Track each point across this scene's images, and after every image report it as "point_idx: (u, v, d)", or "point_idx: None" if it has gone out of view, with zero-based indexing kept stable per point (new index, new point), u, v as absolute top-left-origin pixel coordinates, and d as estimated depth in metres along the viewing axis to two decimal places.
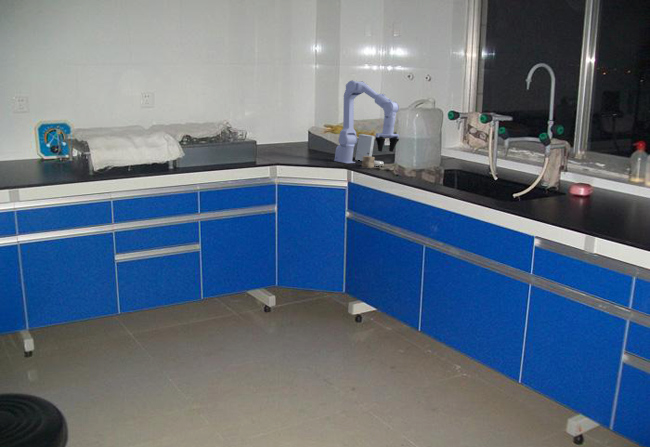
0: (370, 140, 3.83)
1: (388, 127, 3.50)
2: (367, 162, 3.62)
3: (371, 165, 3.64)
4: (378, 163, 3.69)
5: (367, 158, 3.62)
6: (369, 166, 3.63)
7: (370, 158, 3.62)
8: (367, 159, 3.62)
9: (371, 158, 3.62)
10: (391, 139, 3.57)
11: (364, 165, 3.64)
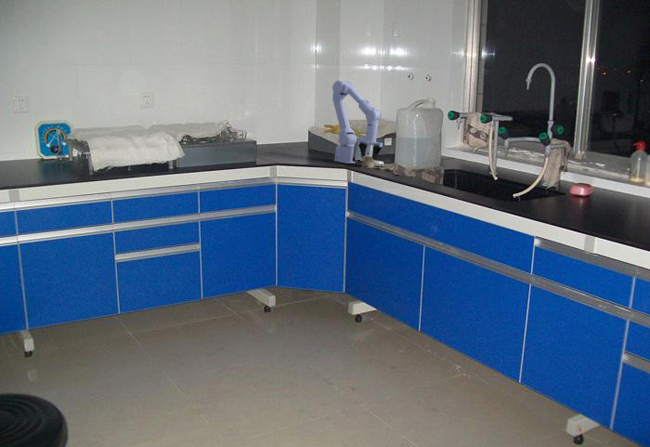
0: None
1: (366, 134, 3.61)
2: (367, 162, 3.62)
3: (371, 165, 3.64)
4: (378, 163, 3.69)
5: (367, 158, 3.62)
6: (369, 166, 3.63)
7: (370, 158, 3.62)
8: (367, 159, 3.62)
9: (371, 158, 3.62)
10: None
11: (364, 165, 3.64)
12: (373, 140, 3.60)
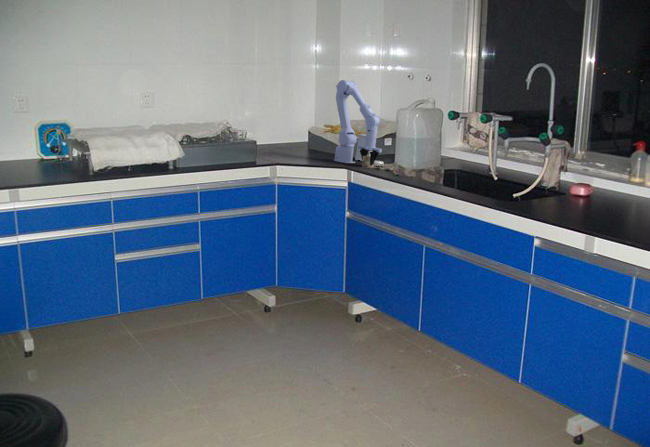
0: None
1: (365, 139, 3.62)
2: (367, 162, 3.62)
3: (371, 165, 3.64)
4: (378, 163, 3.69)
5: (367, 158, 3.62)
6: (369, 166, 3.63)
7: None
8: (367, 159, 3.62)
9: None
10: None
11: (364, 165, 3.64)
12: (372, 146, 3.60)
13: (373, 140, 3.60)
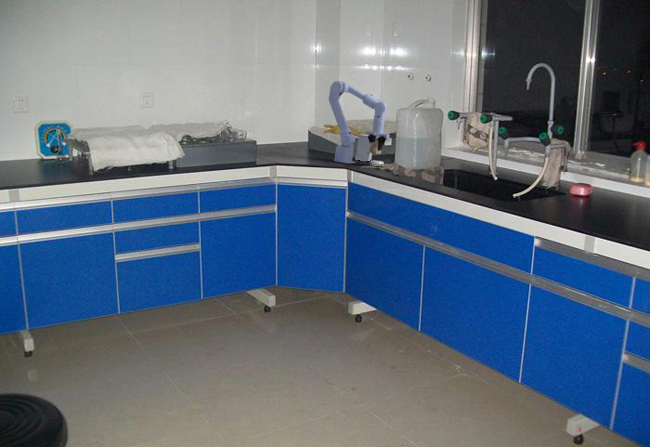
0: None
1: (373, 125, 3.65)
2: (374, 148, 3.65)
3: (378, 151, 3.67)
4: (378, 163, 3.69)
5: (374, 144, 3.65)
6: (376, 152, 3.66)
7: (377, 144, 3.65)
8: (374, 145, 3.65)
9: None
10: None
11: (371, 151, 3.67)
12: (380, 131, 3.63)
13: (381, 126, 3.63)
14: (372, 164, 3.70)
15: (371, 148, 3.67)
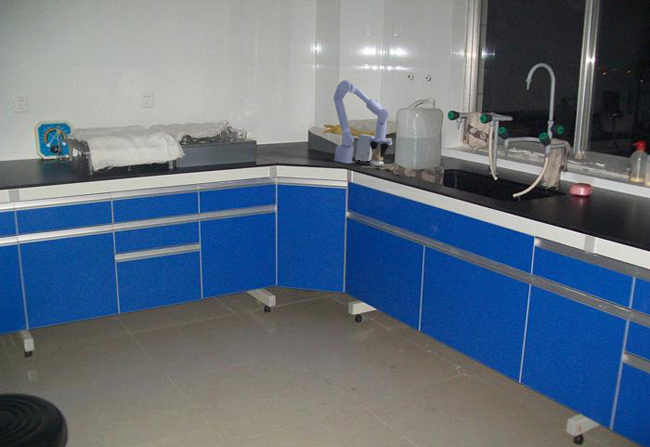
0: None
1: (375, 132, 3.68)
2: (377, 155, 3.68)
3: (381, 158, 3.70)
4: (378, 163, 3.69)
5: (377, 151, 3.68)
6: (379, 159, 3.69)
7: (380, 151, 3.68)
8: (377, 152, 3.68)
9: None
10: None
11: (374, 158, 3.70)
12: (383, 138, 3.67)
13: (383, 133, 3.66)
14: (372, 164, 3.70)
15: (374, 155, 3.70)
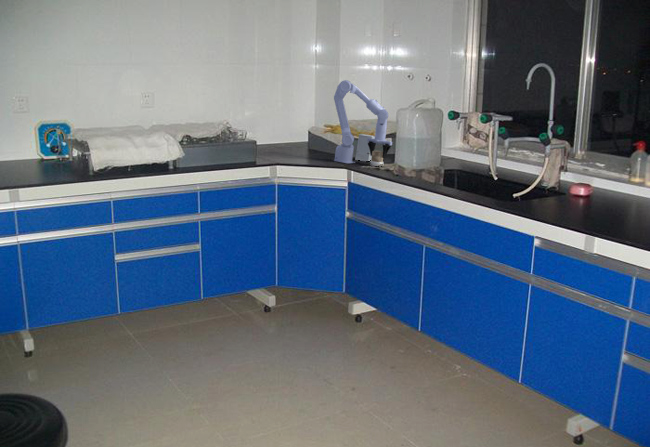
0: None
1: (375, 133, 3.68)
2: (377, 157, 3.69)
3: (381, 160, 3.70)
4: (378, 163, 3.69)
5: (377, 153, 3.68)
6: (379, 161, 3.69)
7: (380, 153, 3.68)
8: (377, 154, 3.68)
9: (381, 153, 3.69)
10: None
11: (374, 160, 3.70)
12: (383, 139, 3.67)
13: (383, 133, 3.66)
14: (372, 164, 3.70)
15: (373, 156, 3.70)
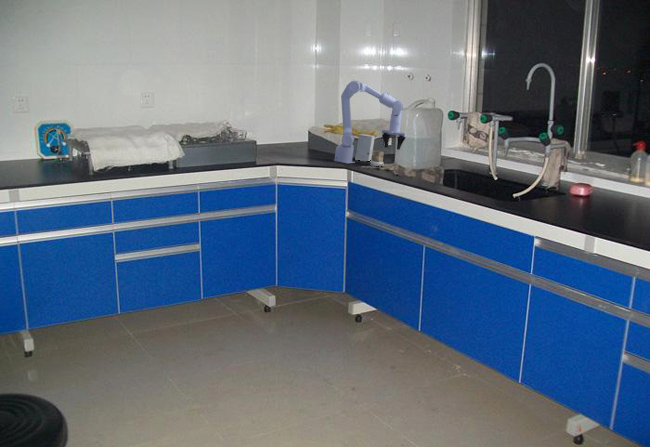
0: (370, 140, 3.83)
1: (390, 124, 3.66)
2: (377, 157, 3.69)
3: (381, 160, 3.70)
4: (378, 163, 3.69)
5: (377, 153, 3.68)
6: (379, 161, 3.69)
7: (380, 153, 3.68)
8: (377, 154, 3.68)
9: (381, 153, 3.69)
10: None
11: (374, 160, 3.70)
12: (397, 130, 3.65)
13: (398, 124, 3.64)
14: (372, 164, 3.70)
15: (373, 156, 3.70)
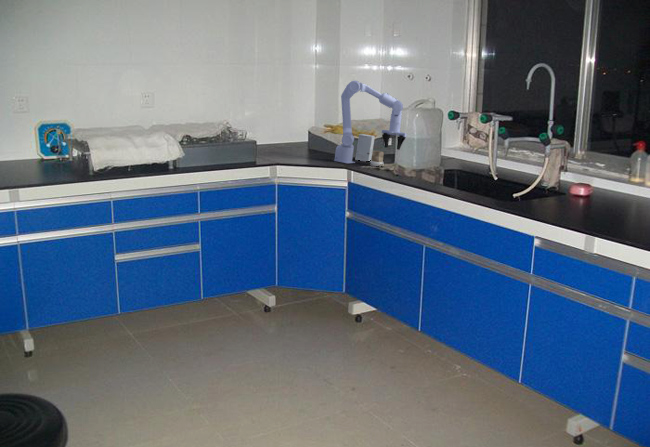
0: (370, 140, 3.83)
1: (390, 124, 3.66)
2: (377, 157, 3.69)
3: (381, 160, 3.70)
4: (378, 163, 3.69)
5: (377, 153, 3.68)
6: (379, 161, 3.69)
7: (380, 153, 3.68)
8: (377, 154, 3.68)
9: (381, 153, 3.69)
10: None
11: (374, 160, 3.70)
12: (397, 130, 3.65)
13: (398, 124, 3.64)
14: (372, 164, 3.70)
15: (373, 156, 3.70)
